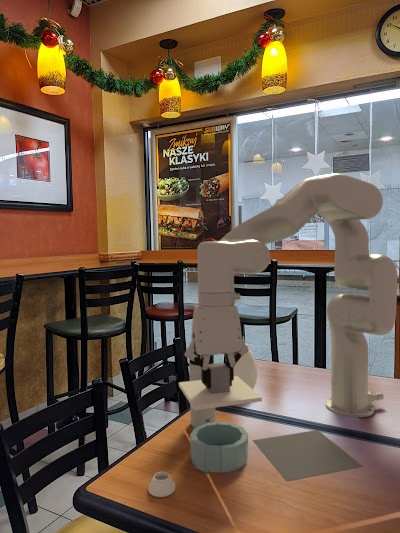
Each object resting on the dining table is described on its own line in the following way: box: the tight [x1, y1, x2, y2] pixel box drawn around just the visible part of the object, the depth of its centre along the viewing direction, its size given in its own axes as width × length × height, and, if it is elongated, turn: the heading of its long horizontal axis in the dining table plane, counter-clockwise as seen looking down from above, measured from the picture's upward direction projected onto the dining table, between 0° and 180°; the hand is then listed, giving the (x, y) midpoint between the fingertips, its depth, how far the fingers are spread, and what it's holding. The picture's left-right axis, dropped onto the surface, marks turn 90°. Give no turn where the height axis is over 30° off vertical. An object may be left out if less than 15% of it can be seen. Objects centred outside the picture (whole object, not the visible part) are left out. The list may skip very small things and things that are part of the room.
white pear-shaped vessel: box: [234, 335, 258, 390], centre depth 126 cm, size 8×8×18 cm
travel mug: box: [188, 351, 216, 429], centre depth 104 cm, size 6×7×20 cm
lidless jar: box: [147, 471, 176, 498], centre depth 78 cm, size 5×3×5 cm
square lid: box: [178, 362, 263, 410], centre depth 87 cm, size 14×14×6 cm
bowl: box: [189, 421, 249, 475], centre depth 88 cm, size 12×12×6 cm
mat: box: [252, 429, 364, 482], centre depth 89 cm, size 17×17×1 cm
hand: (217, 384), depth 87 cm, fingers closed on square lid, 4 cm apart
